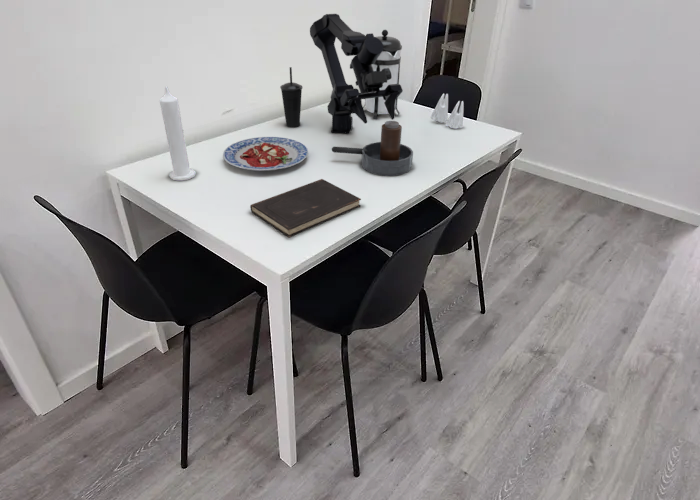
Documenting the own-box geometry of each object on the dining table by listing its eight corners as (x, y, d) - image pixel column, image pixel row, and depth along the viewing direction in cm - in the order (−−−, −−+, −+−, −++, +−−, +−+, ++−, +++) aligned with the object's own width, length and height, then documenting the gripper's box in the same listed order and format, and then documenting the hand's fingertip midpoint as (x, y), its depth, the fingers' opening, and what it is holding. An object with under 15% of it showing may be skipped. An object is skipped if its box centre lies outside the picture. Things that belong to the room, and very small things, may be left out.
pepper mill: (375, 165, 146) (377, 123, 138) (386, 159, 150) (389, 118, 142) (391, 170, 143) (394, 127, 136) (402, 164, 147) (405, 122, 139)
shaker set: (429, 122, 181) (432, 92, 174) (435, 119, 183) (439, 90, 177) (457, 130, 174) (461, 99, 168) (463, 127, 177) (467, 97, 170)
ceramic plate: (206, 158, 149) (205, 149, 147) (272, 137, 165) (271, 128, 163) (259, 184, 134) (258, 175, 133) (325, 158, 150) (325, 149, 149)
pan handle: (331, 153, 147) (331, 147, 146) (332, 150, 148) (332, 145, 147) (366, 155, 146) (367, 150, 145) (367, 153, 147) (367, 147, 146)
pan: (358, 173, 142) (359, 159, 140) (364, 153, 155) (365, 140, 152) (410, 177, 140) (412, 163, 138) (412, 157, 153) (413, 143, 151)
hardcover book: (360, 206, 125) (361, 198, 124) (289, 237, 112) (288, 229, 111) (320, 185, 135) (320, 178, 134) (250, 211, 122) (249, 203, 121)
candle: (172, 182, 134) (153, 91, 121) (167, 172, 140) (149, 84, 126) (198, 178, 137) (183, 88, 123) (192, 168, 142) (177, 81, 129)
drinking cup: (307, 123, 177) (305, 66, 166) (298, 129, 171) (296, 71, 160) (287, 120, 179) (285, 63, 168) (278, 126, 173) (275, 68, 162)
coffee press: (405, 110, 192) (412, 28, 175) (391, 122, 180) (398, 35, 163) (365, 103, 198) (368, 23, 181) (349, 115, 185) (350, 30, 169)
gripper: (345, 60, 136) (361, 111, 134) (402, 55, 143) (418, 104, 141) (333, 82, 146) (348, 129, 144) (387, 76, 153) (402, 121, 151)
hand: (379, 120), depth 145 cm, fingers open, 9 cm apart
